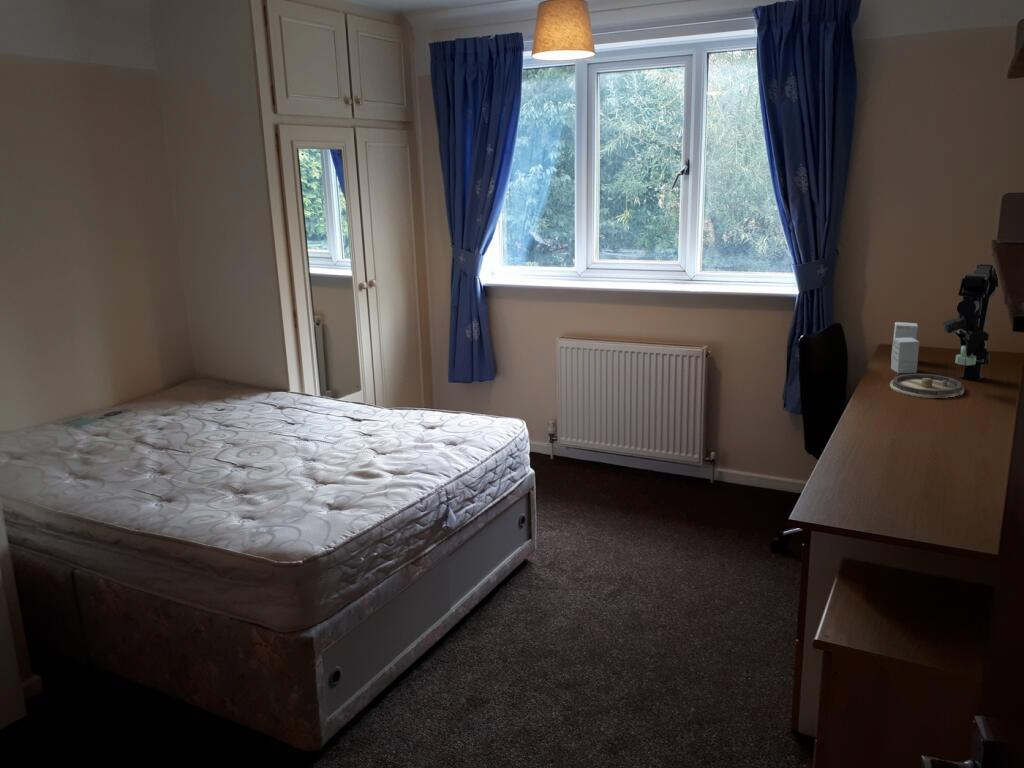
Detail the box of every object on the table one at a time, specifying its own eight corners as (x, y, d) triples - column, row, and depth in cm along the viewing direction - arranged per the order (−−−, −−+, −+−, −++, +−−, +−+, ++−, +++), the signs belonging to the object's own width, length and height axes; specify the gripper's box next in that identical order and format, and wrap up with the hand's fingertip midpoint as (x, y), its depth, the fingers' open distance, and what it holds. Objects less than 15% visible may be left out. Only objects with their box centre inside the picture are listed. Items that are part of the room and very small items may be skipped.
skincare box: (891, 362, 322) (895, 325, 318) (890, 358, 328) (894, 321, 324) (914, 363, 319) (918, 325, 315) (913, 359, 325) (917, 322, 321)
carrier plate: (912, 375, 303) (913, 366, 302) (977, 389, 284) (978, 379, 283) (876, 388, 291) (876, 379, 290) (941, 402, 271) (942, 393, 270)
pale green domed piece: (960, 360, 285) (962, 343, 283) (978, 362, 280) (980, 346, 279) (952, 363, 282) (954, 346, 280) (970, 366, 277) (972, 349, 275)
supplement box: (909, 368, 314) (912, 337, 310) (917, 373, 306) (920, 341, 303) (890, 368, 314) (892, 337, 311) (897, 373, 307) (899, 341, 304)
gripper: (936, 306, 286) (932, 348, 290) (956, 317, 268) (951, 361, 273) (970, 306, 284) (965, 348, 289) (992, 316, 267) (986, 361, 271)
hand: (966, 354), depth 280 cm, fingers closed on pale green domed piece, 4 cm apart
